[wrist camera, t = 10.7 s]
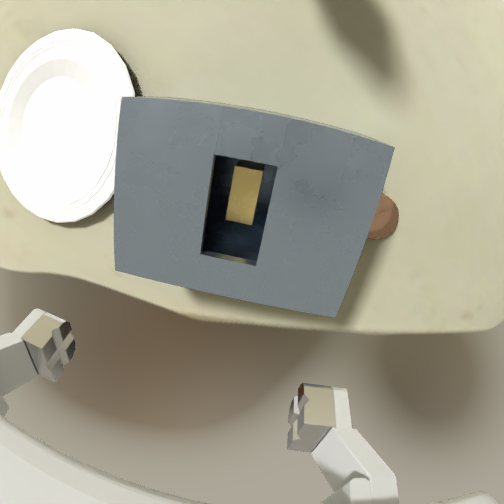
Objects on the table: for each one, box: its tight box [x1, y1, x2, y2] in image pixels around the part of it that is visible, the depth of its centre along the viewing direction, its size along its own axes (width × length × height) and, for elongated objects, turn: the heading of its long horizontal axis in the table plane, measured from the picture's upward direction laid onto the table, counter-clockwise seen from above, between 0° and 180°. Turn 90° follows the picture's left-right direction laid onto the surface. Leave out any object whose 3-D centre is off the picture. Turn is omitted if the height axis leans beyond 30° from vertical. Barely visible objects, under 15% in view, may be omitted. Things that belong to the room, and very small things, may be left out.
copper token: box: [367, 194, 399, 239], centre depth 31 cm, size 5×5×1 cm
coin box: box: [114, 97, 395, 318], centre depth 27 cm, size 20×15×10 cm
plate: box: [0, 28, 136, 223], centre depth 29 cm, size 25×25×2 cm
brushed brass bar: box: [225, 159, 265, 225], centre depth 29 cm, size 2×5×5 cm, turn 169°
